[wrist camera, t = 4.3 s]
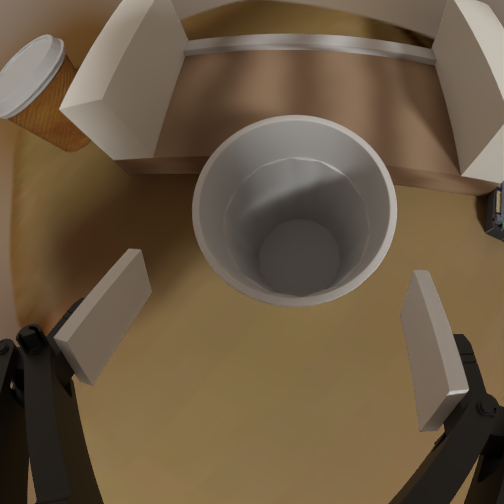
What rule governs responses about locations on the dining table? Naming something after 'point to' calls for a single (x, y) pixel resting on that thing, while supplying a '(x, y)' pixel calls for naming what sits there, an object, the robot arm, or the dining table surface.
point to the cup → (294, 210)
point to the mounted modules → (172, 57)
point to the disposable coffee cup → (41, 92)
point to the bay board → (313, 102)
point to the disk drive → (495, 213)
